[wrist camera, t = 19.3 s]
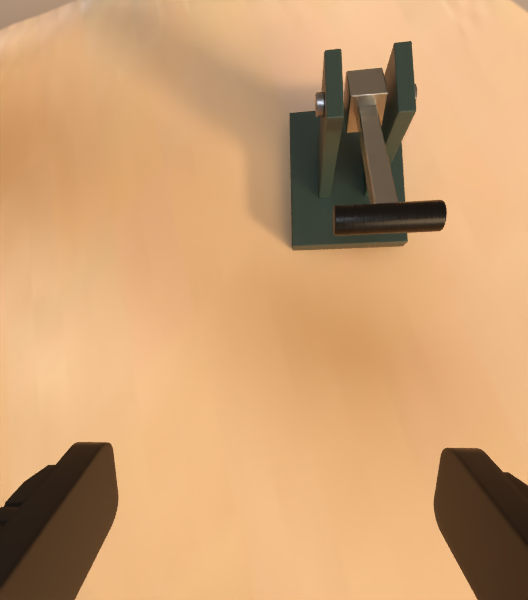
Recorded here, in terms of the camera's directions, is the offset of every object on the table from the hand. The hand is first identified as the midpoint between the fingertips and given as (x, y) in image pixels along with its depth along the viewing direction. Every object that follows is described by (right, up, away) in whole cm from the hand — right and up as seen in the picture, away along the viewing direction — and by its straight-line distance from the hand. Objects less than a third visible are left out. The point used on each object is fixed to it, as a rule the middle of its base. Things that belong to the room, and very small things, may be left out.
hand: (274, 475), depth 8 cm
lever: (+6, +12, +12) cm, 18 cm away
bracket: (+7, +16, +24) cm, 29 cm away
